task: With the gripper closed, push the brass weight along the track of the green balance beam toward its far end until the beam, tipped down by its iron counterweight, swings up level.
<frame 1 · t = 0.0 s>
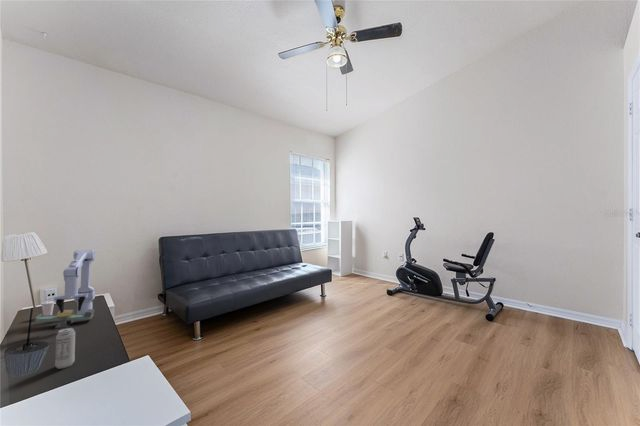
hand: (70, 311, 156), 10 cm above the table, tool pointing down, fingers open, 7 cm apart
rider: (64, 316, 162), point 5 cm above the table, tilted 6°, touching beam
pivot stand: (65, 324, 162), on the table
energy drink can: (64, 366, 114), on the table
beam: (66, 315, 163), point 5 cm above the table, hinge at -6.2°, touching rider
smoothie: (47, 317, 175), on the table
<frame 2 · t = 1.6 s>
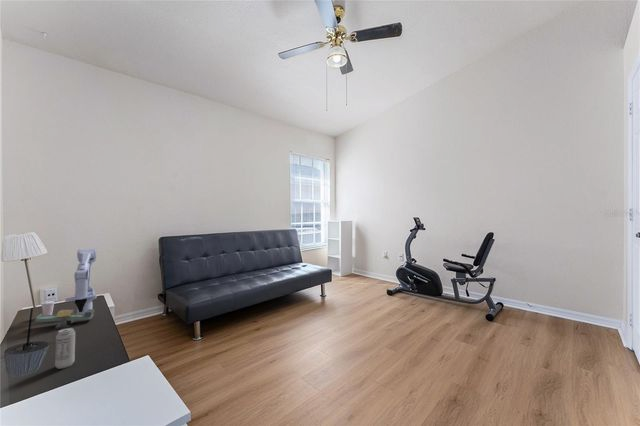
hand: (80, 311, 166), 7 cm above the table, tool pointing down, fingers closed
nothing on the table moved.
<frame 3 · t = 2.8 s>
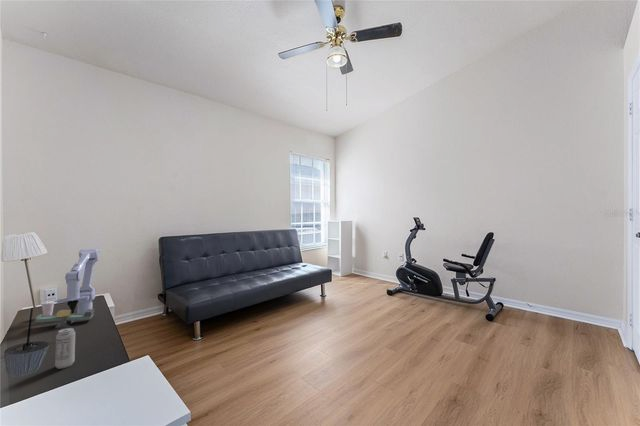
hand: (72, 313, 164), 6 cm above the table, tool pointing down, fingers closed
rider: (64, 316, 162), point 5 cm above the table, tilted 6°, touching beam, gripper
beam: (66, 315, 163), point 5 cm above the table, hinge at -5.5°, touching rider
everything else where it was.
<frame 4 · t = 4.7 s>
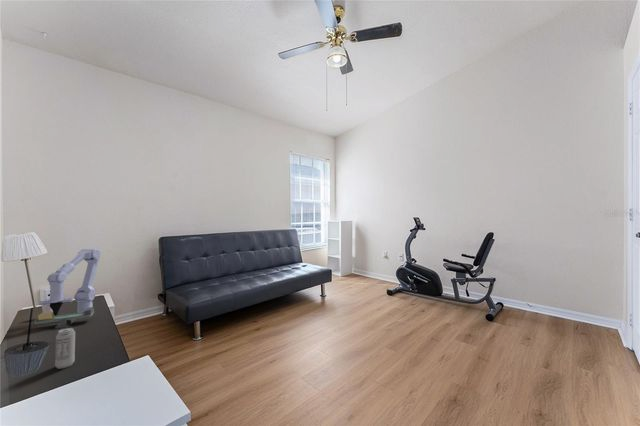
hand: (56, 315, 161), 6 cm above the table, tool pointing down, fingers closed
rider: (46, 319, 159), point 5 cm above the table, touching beam, gripper
beam: (65, 315, 163), point 5 cm above the table, hinge at 0.2°, touching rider
everything else where it was.
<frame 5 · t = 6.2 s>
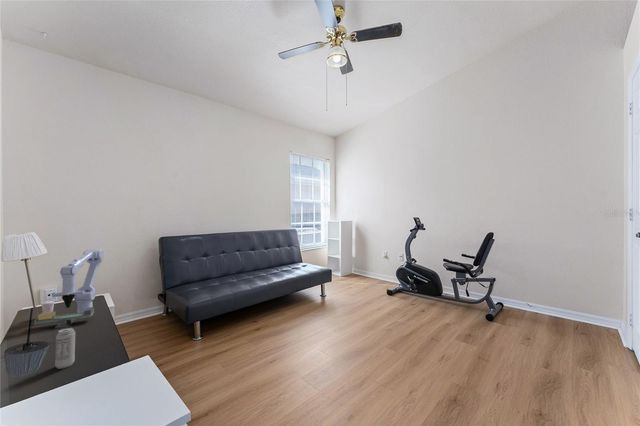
hand: (68, 307, 165), 10 cm above the table, tool pointing down, fingers closed
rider: (46, 319, 159), point 5 cm above the table, touching beam
everything else where it was.
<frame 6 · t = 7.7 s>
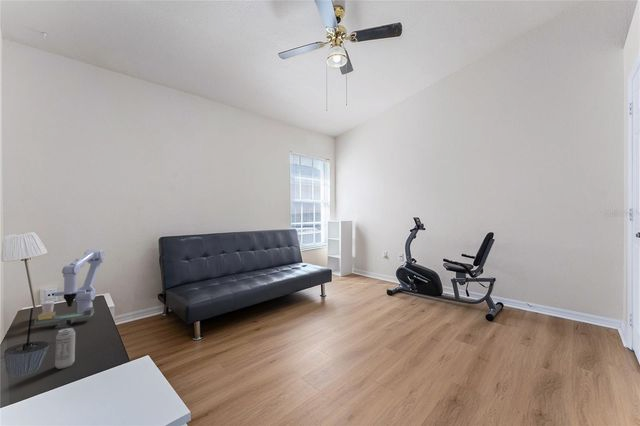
hand: (69, 306, 166), 10 cm above the table, tool pointing down, fingers closed
nothing on the table moved.
at the end: beam at +0° (first picture: -6°); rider 0.1 cm from the target spot on the beam, point 0.6 cm above the beam's base; the gripper is holding nothing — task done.
